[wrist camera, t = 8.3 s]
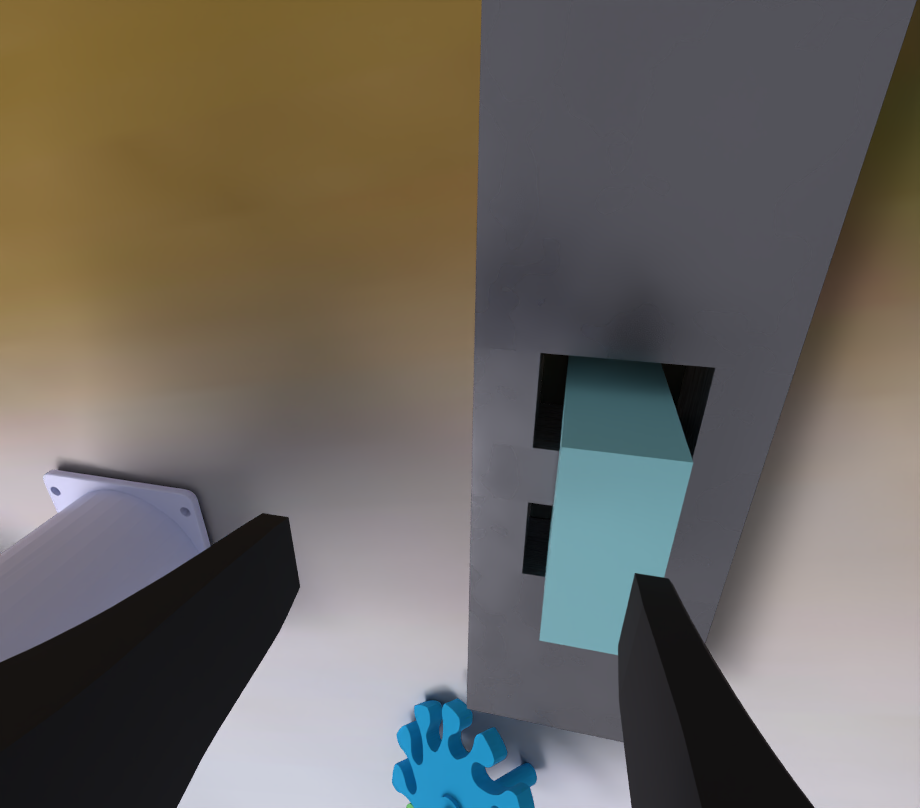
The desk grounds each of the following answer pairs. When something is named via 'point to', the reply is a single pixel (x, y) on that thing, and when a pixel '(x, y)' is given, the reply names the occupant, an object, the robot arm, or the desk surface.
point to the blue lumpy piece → (456, 763)
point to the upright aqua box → (611, 497)
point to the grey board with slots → (648, 272)
